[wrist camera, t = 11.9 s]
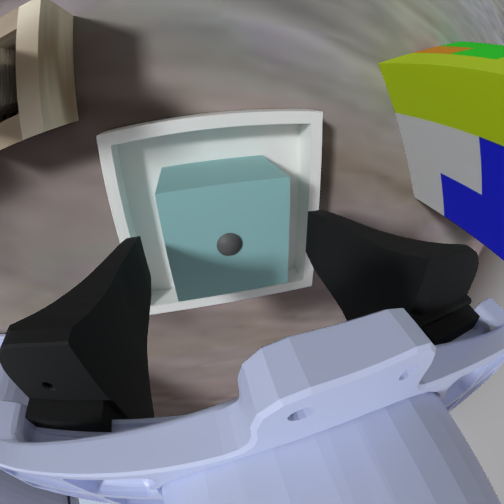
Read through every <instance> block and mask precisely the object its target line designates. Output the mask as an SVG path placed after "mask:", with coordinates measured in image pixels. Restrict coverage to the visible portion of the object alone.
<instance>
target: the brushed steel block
mask: <svg viewBox="0 0 504 504" xmlns="http://www.w3.org/2000/svg"><path fill="white" fill-rule="evenodd" d="M16 111H18V100H17V86H16V50H11V49H4V48H0V116H4V115H8V114H12V113H14V112H16Z"/></svg>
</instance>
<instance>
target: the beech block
mask: <svg viewBox="0 0 504 504" xmlns="http://www.w3.org/2000/svg"><path fill="white" fill-rule="evenodd" d="M73 17H74V16H73V15H72V14H70V13H69V12H67V11H65V10H64V9H62V8H61V7H59V6H58V5H56V4H55V3H53V2H51V1H50V0H31V1H29V2H27V3H25V4H23V5H22V6H20V7H18V8H16V9H14V10H13V11H11V12H9V13H7V14H6V15H4V16H2V17H1V18H0V48H4V49H11V50H16V86H17V100H18V110H19V114H17V115H15V116H13V117H11V118H9V119H7V120H5V121H3V116H0V150H2V149H4V148H7V147H9V146H11V145H13V144H16V143H18V142H20V141H23V140H25V139H28V138H30V137H33V136H35V135H38V134H40V133H43V132H46V131H49V130H51V129H54V128H57V127H60V126H63V125H66V124H69V123H73V122H76V121H79V118H78V110H77V101H76V91H75V79H74V61H73Z"/></svg>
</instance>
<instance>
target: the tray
mask: <svg viewBox="0 0 504 504" xmlns="http://www.w3.org/2000/svg"><path fill="white" fill-rule="evenodd" d="M322 117H323V112H322V111H316V110H310V109H259V110H240V111H226V112H215V113H205V114H196V115H188V116H181V117H174V118H167V119H161V120H155V121H150V122H144V123H139V124H134V125H129V126H125V127H120V128H116V129H112V130H107V131H105V132H103V133H101V134H99V135H97V136H96V139H97V145H98V151H99V156H100V162H101V167H102V172H103V177H104V182H105V186H106V191H107V195H108V199H109V204H110V208H111V212H112V216H113V219H114V223H115V227H116V231H117V234H118V238H119V241H120V243H121V242H123V241H124V240H125V239H126V238H131V237H137V236H140V237H141V241H142V245H143V249H144V253H145V257H146V260H147V264H148V267H149V271H150V274H151V305H150V314H149V315H151V314H158V313H165V312H171V311H178V310H184V309H191V308H197V307H203V306H209V305H215V304H221V303H227V302H232V301H238V300H244V299H249V298H254V297H260V296H265V295H270V294H275V293H280V292H285V291H290V290H295V289H300V288H305V287H310V286H312V279H313V270H314V268H313V266H312V264H311V262H310V260H309V258H308V256H307V253H306V236H307V220H308V211H316V210H319V198H320V180H321V158H322ZM258 155H263V156H264V157H265V158H267V159H268V160H269V161H270V162H272V163H273V164H274V165H276V166H277V167H278V168H279V169H281V170H282V171H283V172H284V173H286V174H287V175H288V176H289V177H290V220H289V252H288V277H287V283H284V284H278V285H273V286H268V287H262V288H257V289H251V290H246V291H240V292H235V293H229V294H223V295H217V296H211V297H205V298H199V299H193V300H187V301H180V302H179V301H178V297H177V294H176V290H175V286H174V282H173V278H172V274H171V269H170V265H169V261H168V257H167V252H166V248H165V243H164V238H163V234H162V229H161V224H160V219H159V214H158V209H157V203H156V198H155V192H156V188H157V184H158V180H159V176H160V172H161V168H162V167H168V166H174V165H180V164H187V163H194V162H202V161H209V160H218V159H226V158H236V157H246V156H258Z"/></svg>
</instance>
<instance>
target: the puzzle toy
mask: <svg viewBox="0 0 504 504" xmlns="http://www.w3.org/2000/svg"><path fill="white" fill-rule="evenodd" d="M378 65H379V67H380V70H381V72H382V75H383V78H384V81H385V83H386V86H387V89H388V92H389V95H390V98H391V101H392V104H393V108H394V111H395V114H396V118H397V121H398V125H399V128H400V132H401V136H402V140H403V144H404V148H405V152H406V157H407V161H408V166H409V171H410V176H411V181H412V186H413V192H414V197H415V198H416V199H418V200H420V201H421V202H423V203H424V204H426V205H428V206H429V207H431V208H432V209H434V210H435V211H437V212H439V213H440V214H442V215H443V216H445V217H446V218H448V219H449V220H451V221H452V222H453V223H455V224H456V225H458V226H459V227H461V228H462V229H463V230H465V231H466V232H468V233H469V234H470V235H472V236H473V237H474V238H476V239H477V240H478V241H480V242H481V243H482V244H484V245H485V246H487V247H488V248H489V249H490V250H492V251H493V252H494V253H495V254H496V255H498V256H499V257H500V258H501V259H503V260H504V46H501V45H494V44H485V43H475V42H457V43H452V44H447V45H442V46H438V47H434V48H430V49H426V50H422V51H418V52H414V53H411V54H407V55H404V56H400V57H397V58H394V59H391V60H387V61H384V62H381V63H378Z"/></svg>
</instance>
